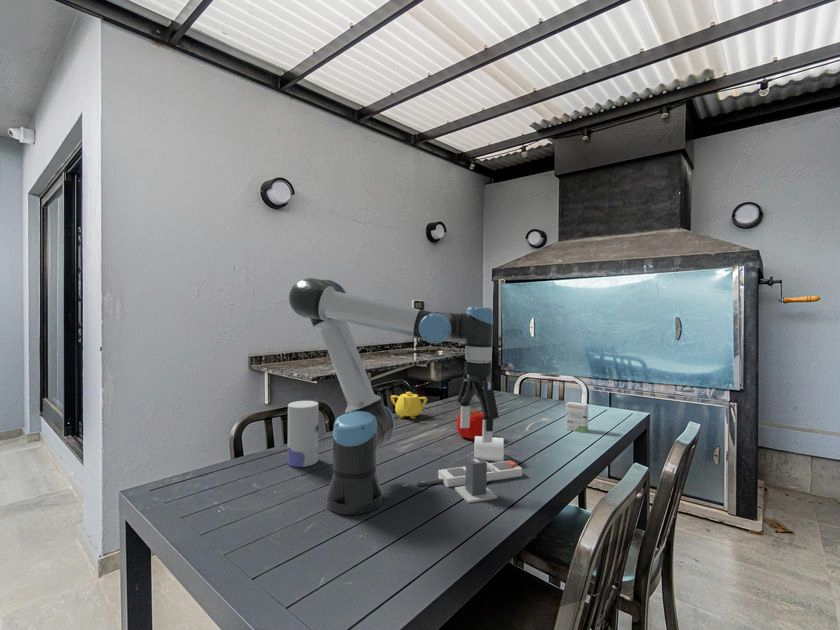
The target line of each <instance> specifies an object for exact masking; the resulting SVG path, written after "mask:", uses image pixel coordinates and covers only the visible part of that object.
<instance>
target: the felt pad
mask: <svg viewBox="0 0 840 630" xmlns="http://www.w3.org/2000/svg"><path fill="white" fill-rule="evenodd" d="M454 490H455V491H456V493H458V494H459V495H460V496H461V497H462V498H463V499H464V500H465V501H466V502H467V503H468V504H471V503H472V504H473V503H477V502H478V503H479V502H483V501H490V500H496V499H498V495H496V494H495V493H494V492H493V491H492V490H490V489H489V488H488V487H487V486H486V494H482V495H476V496H472V495H471V494H470V493H469V492H468V491H466V490H465V485H459V486H454Z"/></svg>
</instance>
